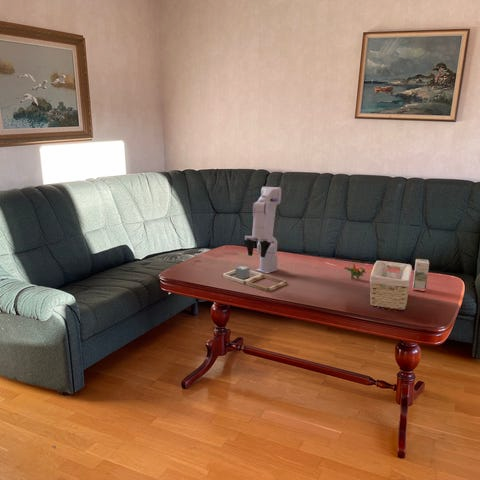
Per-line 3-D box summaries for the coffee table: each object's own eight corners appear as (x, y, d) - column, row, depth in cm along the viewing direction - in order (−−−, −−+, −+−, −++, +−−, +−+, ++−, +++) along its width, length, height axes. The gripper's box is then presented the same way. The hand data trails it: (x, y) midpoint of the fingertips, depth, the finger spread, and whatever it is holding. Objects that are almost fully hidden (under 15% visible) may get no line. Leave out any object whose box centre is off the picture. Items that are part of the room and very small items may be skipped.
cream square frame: (241, 270, 241) (241, 267, 240) (262, 276, 232) (262, 273, 231) (221, 277, 230) (222, 274, 230) (243, 284, 221) (243, 281, 221)
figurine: (363, 282, 226) (365, 266, 224) (341, 277, 233) (342, 262, 230) (366, 280, 228) (367, 265, 226) (343, 275, 235) (344, 260, 233)
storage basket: (406, 313, 190) (410, 280, 186) (366, 307, 196) (369, 274, 192) (409, 294, 211) (412, 264, 208) (373, 289, 217) (376, 259, 214)
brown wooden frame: (263, 276, 231) (263, 274, 231) (286, 283, 222) (287, 281, 222) (244, 284, 221) (244, 281, 220) (268, 291, 211) (268, 288, 211)
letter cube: (241, 274, 234) (242, 265, 233) (249, 277, 231) (249, 267, 230) (235, 277, 231) (235, 267, 229) (242, 279, 228) (243, 269, 226)
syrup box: (425, 288, 219) (428, 259, 215) (425, 292, 214) (429, 263, 210) (412, 286, 221) (415, 258, 217) (412, 290, 215) (416, 261, 212)
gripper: (241, 226, 216) (239, 254, 216) (265, 227, 207) (263, 257, 207) (251, 227, 221) (248, 255, 222) (275, 228, 212) (272, 257, 212)
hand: (256, 256), depth 215 cm, fingers open, 7 cm apart
